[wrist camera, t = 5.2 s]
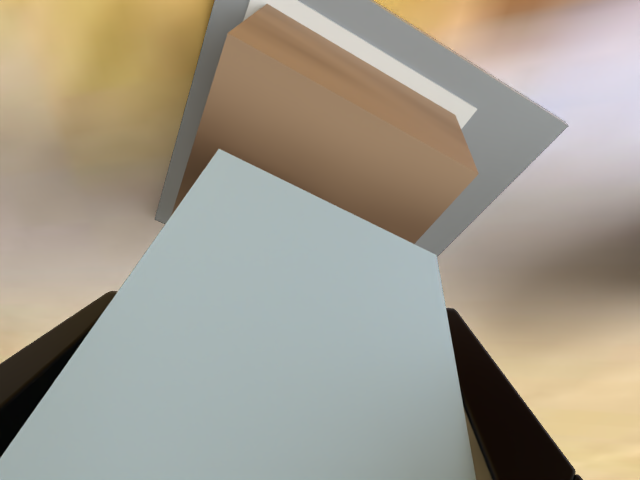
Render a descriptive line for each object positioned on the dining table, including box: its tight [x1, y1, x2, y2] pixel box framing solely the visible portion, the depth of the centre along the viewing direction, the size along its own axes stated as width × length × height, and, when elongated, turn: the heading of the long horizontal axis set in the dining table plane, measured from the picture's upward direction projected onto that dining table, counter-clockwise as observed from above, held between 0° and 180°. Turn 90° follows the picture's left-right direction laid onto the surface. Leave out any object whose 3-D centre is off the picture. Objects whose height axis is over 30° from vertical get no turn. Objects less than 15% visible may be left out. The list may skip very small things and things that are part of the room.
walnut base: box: [171, 4, 479, 244], centre depth 13 cm, size 7×7×4 cm
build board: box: [155, 0, 568, 257], centre depth 16 cm, size 12×12×1 cm
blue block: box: [0, 149, 476, 480], centre depth 7 cm, size 5×5×6 cm
